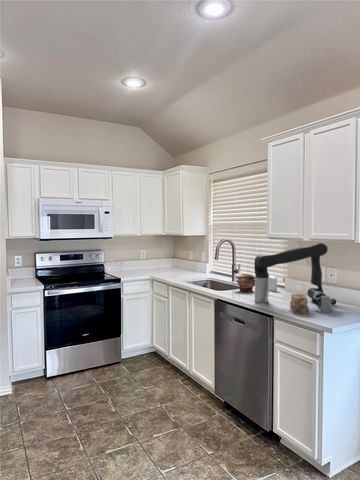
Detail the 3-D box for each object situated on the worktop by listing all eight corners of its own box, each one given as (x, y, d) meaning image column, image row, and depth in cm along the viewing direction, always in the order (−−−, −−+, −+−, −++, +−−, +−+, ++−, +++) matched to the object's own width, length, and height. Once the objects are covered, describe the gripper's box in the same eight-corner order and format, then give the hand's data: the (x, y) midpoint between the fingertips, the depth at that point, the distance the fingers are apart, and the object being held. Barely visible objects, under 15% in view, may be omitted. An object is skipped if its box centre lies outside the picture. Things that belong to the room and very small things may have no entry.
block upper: (293, 305, 213) (293, 297, 213) (291, 301, 224) (291, 294, 224) (307, 306, 211) (307, 298, 211) (304, 302, 223) (304, 294, 223)
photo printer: (265, 289, 291) (265, 275, 290) (268, 289, 293) (269, 274, 292) (274, 291, 282) (274, 276, 281) (277, 291, 284) (278, 276, 283)
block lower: (292, 314, 212) (293, 306, 212) (290, 308, 226) (290, 301, 226) (308, 315, 210) (308, 307, 210) (304, 309, 224) (304, 302, 224)
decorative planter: (252, 289, 291) (253, 273, 291) (262, 291, 280) (262, 274, 280) (233, 291, 283) (233, 274, 282) (241, 293, 272) (242, 276, 271)
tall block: (322, 312, 214) (322, 297, 214) (320, 311, 219) (321, 295, 218) (329, 313, 214) (330, 297, 213) (328, 311, 218) (328, 295, 218)
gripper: (309, 291, 232) (314, 296, 216) (331, 292, 229) (338, 297, 213) (309, 302, 232) (313, 308, 216) (331, 304, 229) (338, 309, 213)
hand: (326, 303), depth 215 cm, fingers open, 8 cm apart
